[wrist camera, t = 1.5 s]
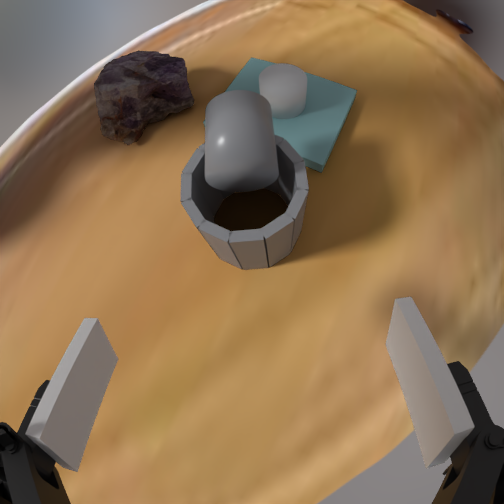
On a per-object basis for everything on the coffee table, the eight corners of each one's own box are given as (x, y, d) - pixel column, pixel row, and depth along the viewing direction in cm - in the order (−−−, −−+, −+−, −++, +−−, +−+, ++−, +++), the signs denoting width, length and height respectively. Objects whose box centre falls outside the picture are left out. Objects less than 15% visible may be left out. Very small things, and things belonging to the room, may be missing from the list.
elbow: (305, 264, 30) (320, 218, 18) (207, 272, 31) (164, 232, 19) (293, 165, 33) (297, 85, 21) (206, 173, 33) (173, 99, 22)
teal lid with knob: (205, 129, 35) (195, 99, 30) (252, 65, 37) (248, 34, 32) (321, 172, 32) (328, 143, 27) (355, 98, 35) (362, 67, 29)
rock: (201, 124, 37) (179, 76, 39) (197, 74, 29) (173, 29, 31) (110, 157, 35) (99, 104, 37) (87, 112, 27) (81, 60, 29)
